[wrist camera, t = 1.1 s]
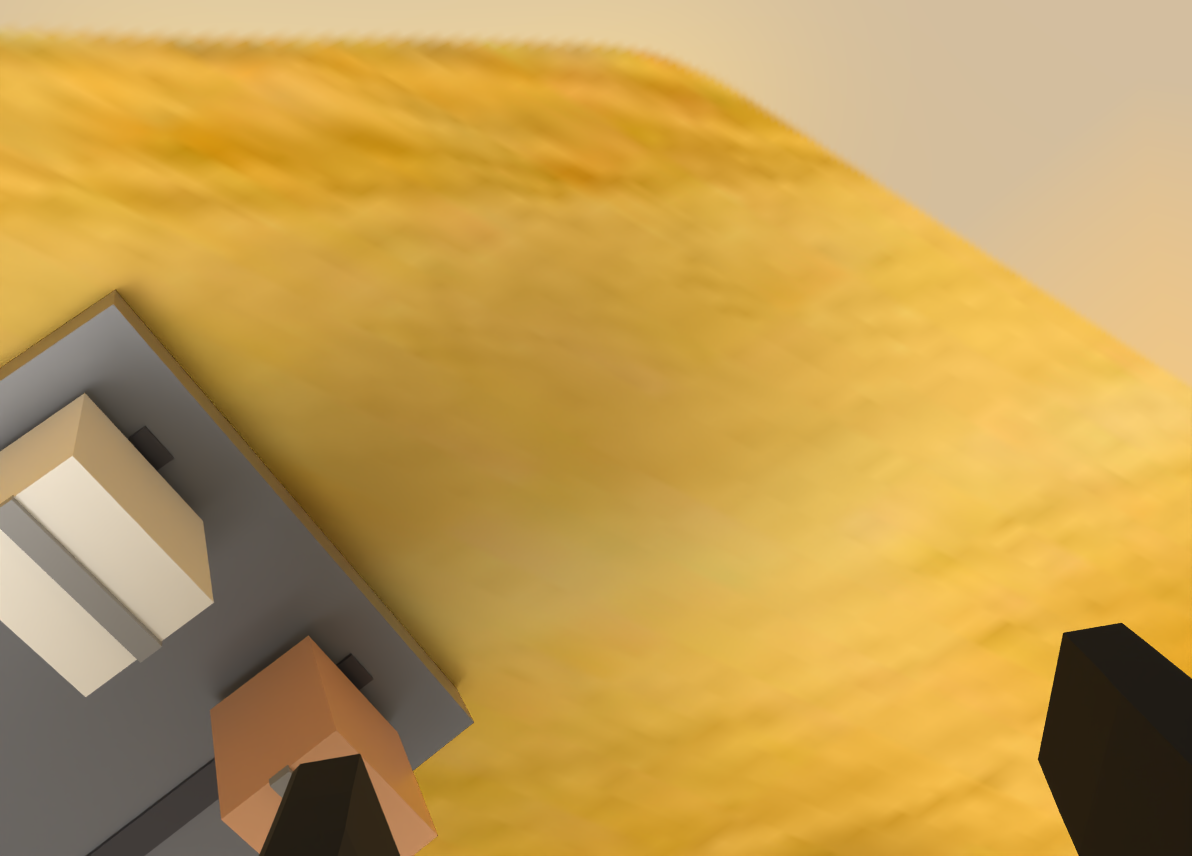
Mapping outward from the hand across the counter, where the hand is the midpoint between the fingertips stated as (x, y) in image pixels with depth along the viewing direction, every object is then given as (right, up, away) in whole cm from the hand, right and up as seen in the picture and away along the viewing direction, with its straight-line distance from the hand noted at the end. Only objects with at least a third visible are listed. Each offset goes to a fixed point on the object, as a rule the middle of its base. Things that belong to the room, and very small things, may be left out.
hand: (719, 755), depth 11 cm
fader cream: (-10, +2, +8) cm, 14 cm away
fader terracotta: (-7, -3, +11) cm, 14 cm away
